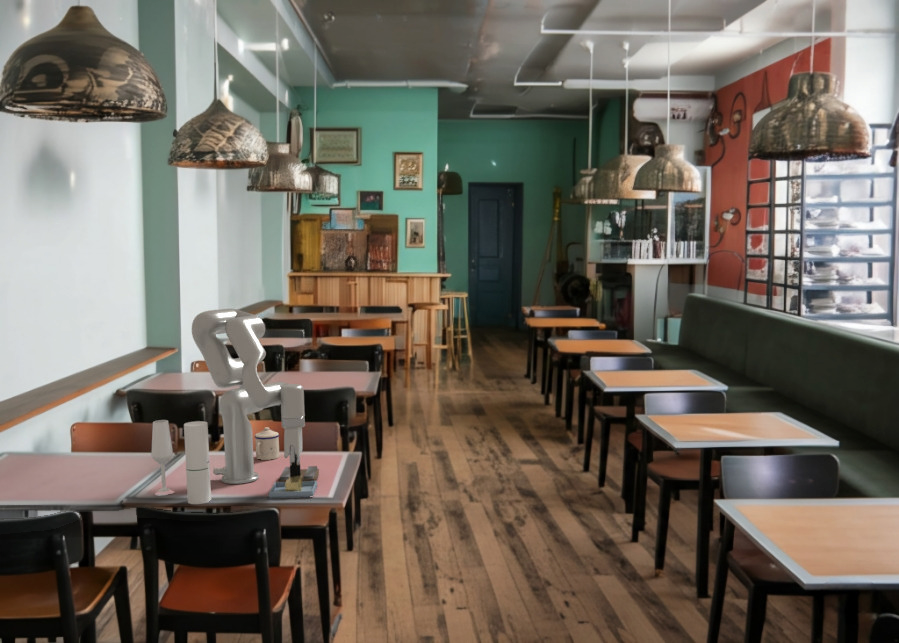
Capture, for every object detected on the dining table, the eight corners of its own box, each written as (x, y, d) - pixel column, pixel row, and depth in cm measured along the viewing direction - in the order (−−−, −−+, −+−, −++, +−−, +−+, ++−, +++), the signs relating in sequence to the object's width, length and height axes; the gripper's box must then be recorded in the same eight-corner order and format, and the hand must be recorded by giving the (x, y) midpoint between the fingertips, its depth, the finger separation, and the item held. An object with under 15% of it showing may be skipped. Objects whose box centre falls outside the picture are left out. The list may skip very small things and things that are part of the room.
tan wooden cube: (287, 491, 279) (285, 495, 275) (286, 479, 279) (285, 482, 275) (299, 490, 280) (298, 494, 276) (299, 478, 279) (297, 482, 275)
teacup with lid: (263, 454, 333) (262, 424, 332) (284, 455, 330) (283, 425, 329) (246, 461, 322) (245, 431, 321) (267, 463, 319) (266, 432, 318)
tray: (269, 498, 274) (268, 492, 274) (275, 487, 286) (274, 482, 286) (313, 497, 275) (312, 491, 274) (317, 486, 286) (317, 480, 286)
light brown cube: (288, 491, 279) (288, 479, 279) (290, 487, 283) (289, 476, 283) (301, 490, 280) (300, 478, 279) (302, 487, 284) (301, 475, 283)
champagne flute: (157, 490, 286) (153, 419, 284) (177, 490, 286) (174, 419, 284) (150, 496, 279) (146, 423, 277) (171, 495, 279) (167, 423, 277)
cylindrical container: (214, 497, 276) (210, 421, 274) (206, 504, 269) (202, 426, 267) (193, 497, 277) (189, 421, 275) (184, 504, 270) (180, 426, 268)
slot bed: (278, 487, 287) (278, 477, 286) (284, 476, 299) (284, 467, 299) (314, 486, 287) (314, 476, 287) (319, 475, 300) (318, 465, 300)
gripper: (285, 417, 290) (287, 471, 292) (278, 427, 275) (280, 483, 277) (307, 417, 290) (309, 470, 292) (301, 426, 275) (304, 482, 277)
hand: (295, 476), depth 284 cm, fingers closed
